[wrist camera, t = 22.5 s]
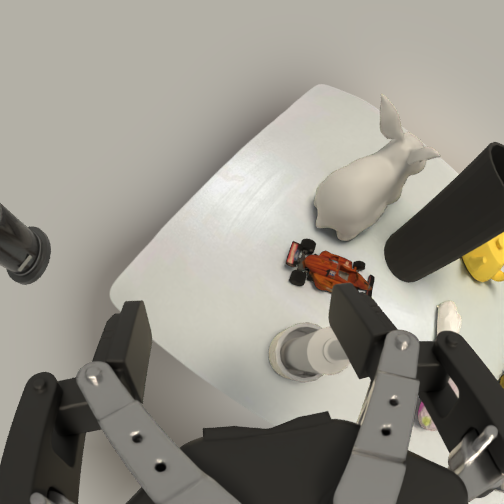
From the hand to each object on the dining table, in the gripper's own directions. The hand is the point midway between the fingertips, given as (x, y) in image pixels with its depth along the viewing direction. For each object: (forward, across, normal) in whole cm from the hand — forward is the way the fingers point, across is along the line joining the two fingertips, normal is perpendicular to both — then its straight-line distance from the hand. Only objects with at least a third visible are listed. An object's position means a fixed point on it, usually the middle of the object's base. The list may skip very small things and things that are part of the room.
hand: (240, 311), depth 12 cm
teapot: (+31, -56, +18) cm, 67 cm away
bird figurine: (+22, -40, +27) cm, 53 cm away
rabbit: (+41, -26, +9) cm, 49 cm away
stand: (+23, -10, +26) cm, 36 cm away
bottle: (+22, -10, +26) cm, 36 cm away
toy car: (+31, -18, +18) cm, 40 cm away
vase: (+33, -35, +16) cm, 51 cm away
